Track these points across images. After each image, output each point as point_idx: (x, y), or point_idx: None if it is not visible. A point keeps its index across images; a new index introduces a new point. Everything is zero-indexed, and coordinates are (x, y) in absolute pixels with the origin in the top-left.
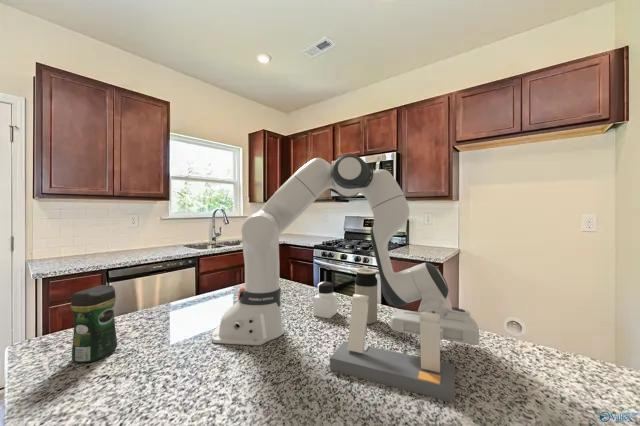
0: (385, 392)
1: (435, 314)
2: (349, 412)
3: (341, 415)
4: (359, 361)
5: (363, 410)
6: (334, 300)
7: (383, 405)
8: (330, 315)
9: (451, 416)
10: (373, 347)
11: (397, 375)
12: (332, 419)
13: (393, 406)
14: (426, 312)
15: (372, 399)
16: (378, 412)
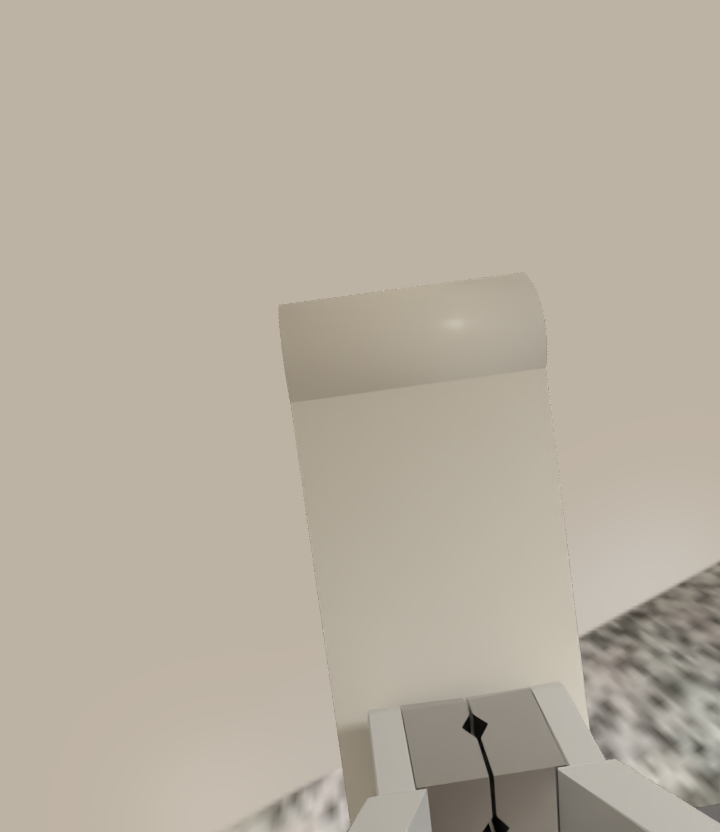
0: (717, 799)
1: (330, 298)
2: (707, 610)
3: (713, 589)
4: None
5: (676, 641)
6: None
7: (635, 705)
8: None
9: (298, 817)
10: None
11: (703, 812)
12: (716, 567)
13: (591, 724)
14: (444, 283)
15: (714, 710)
16: (618, 662)
